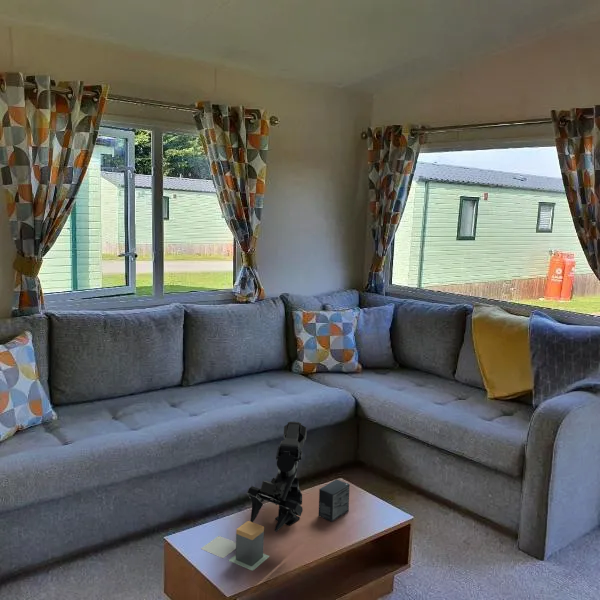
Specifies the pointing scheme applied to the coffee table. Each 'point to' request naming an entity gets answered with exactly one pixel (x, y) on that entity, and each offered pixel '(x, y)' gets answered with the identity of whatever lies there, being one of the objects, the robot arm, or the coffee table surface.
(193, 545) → the coffee table surface
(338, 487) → the small box
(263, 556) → the stand
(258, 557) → the base
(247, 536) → the cover
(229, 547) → the stand
